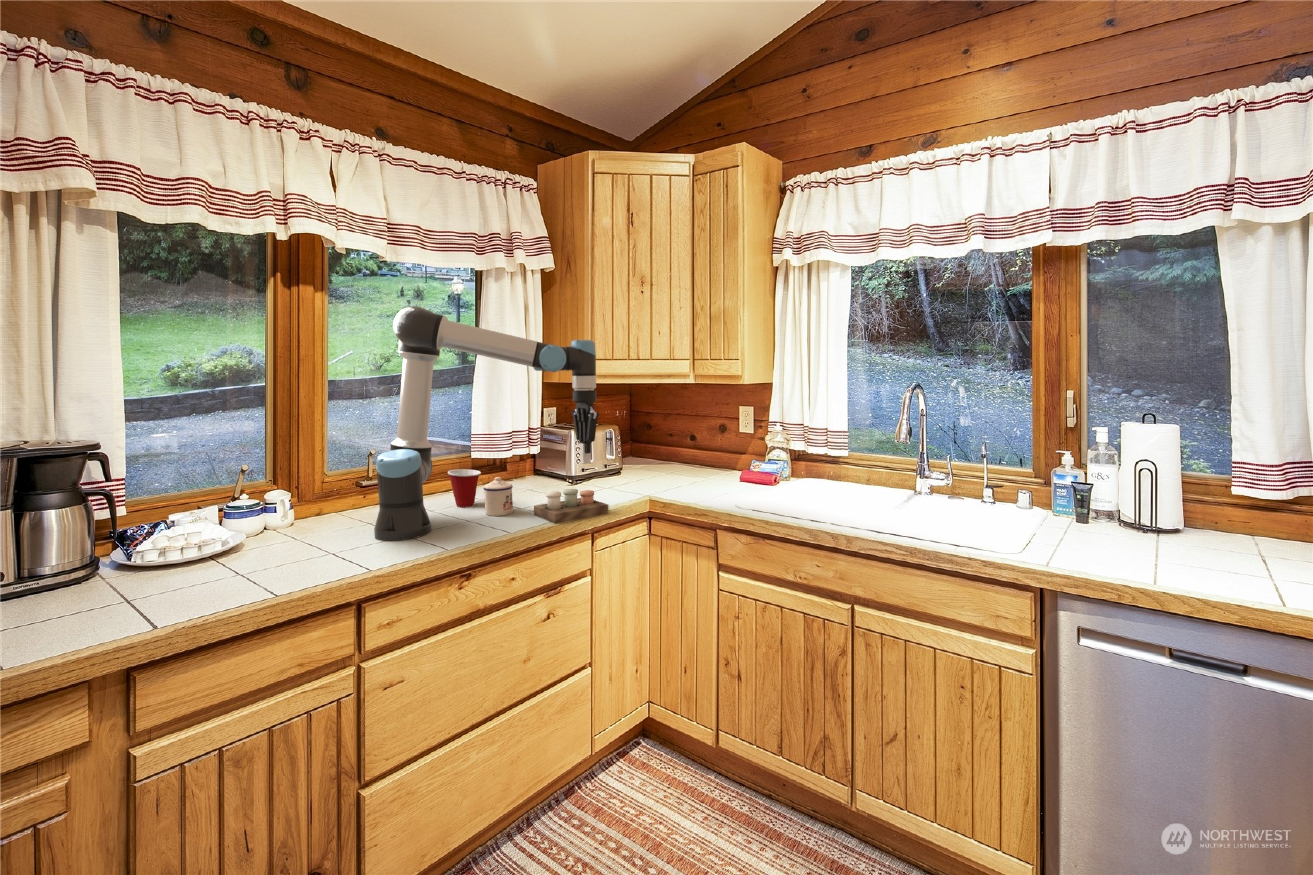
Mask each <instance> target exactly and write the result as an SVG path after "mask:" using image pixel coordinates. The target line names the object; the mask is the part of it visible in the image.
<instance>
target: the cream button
mask: <svg viewBox="0 0 1313 875" xmlns="http://www.w3.org/2000/svg"><path fill="white" fill-rule="evenodd" d="M545 495H546V496H545V497H546V499H547V500H546V502H547V503H546V504H548V510H550V511H553V510H558V509H561V502H560V501H561V497H562V492H561V491H555V490H554V491H547V492H546V493H545Z"/></svg>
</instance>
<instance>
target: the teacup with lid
mask: <svg viewBox="0 0 1313 875" xmlns="http://www.w3.org/2000/svg"><path fill="white" fill-rule="evenodd" d="M513 487H514V486H513V484H512V483H510V482H507V481H505V480H503V479H502V478H501V477H500V476H496V477H494V480H492V481H490V482H489V483H487V484H484V485H483V490H484V492H483V493H484V509H485V510H484V511H485V515H487V516H490V517H501V516H507V515H511V514H512V513H513V511H514V506H513V502H514V501H513Z"/></svg>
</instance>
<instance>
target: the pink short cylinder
mask: <svg viewBox="0 0 1313 875" xmlns="http://www.w3.org/2000/svg"><path fill="white" fill-rule="evenodd" d="M594 495H595V490H590V489H589V490H585V489H584V490H580V491H579V496H580V498H581V504H584V505H587V504H593V503H594V500H595V499H594Z"/></svg>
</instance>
